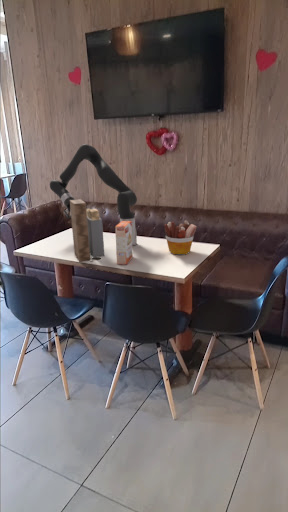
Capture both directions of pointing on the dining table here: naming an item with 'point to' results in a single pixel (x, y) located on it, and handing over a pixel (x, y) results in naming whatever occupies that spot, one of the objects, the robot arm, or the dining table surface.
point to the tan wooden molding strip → (92, 214)
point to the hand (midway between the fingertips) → (80, 217)
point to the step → (95, 237)
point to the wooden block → (80, 230)
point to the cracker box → (124, 242)
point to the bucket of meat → (179, 237)
